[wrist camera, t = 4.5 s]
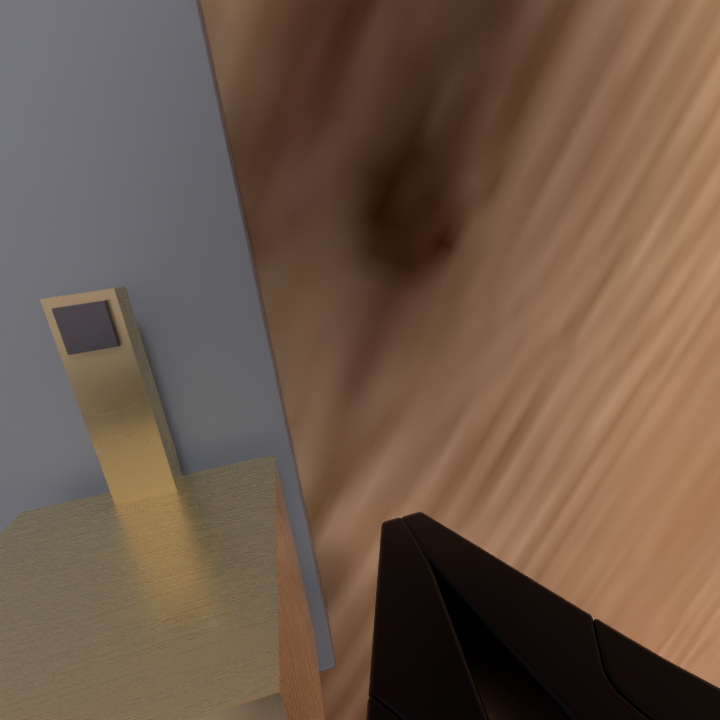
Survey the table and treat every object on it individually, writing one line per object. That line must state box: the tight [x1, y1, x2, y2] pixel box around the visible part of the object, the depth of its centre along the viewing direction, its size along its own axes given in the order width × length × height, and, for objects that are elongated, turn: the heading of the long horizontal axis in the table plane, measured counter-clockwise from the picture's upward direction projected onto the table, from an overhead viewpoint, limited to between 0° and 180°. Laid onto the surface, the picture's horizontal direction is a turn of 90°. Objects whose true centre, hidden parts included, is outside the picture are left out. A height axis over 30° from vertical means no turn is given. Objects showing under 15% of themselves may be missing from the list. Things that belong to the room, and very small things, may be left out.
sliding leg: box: [0, 286, 325, 720], centre depth 5 cm, size 4×8×4 cm, turn 8°
